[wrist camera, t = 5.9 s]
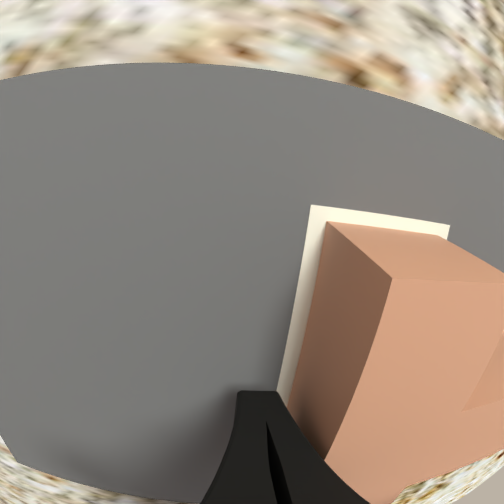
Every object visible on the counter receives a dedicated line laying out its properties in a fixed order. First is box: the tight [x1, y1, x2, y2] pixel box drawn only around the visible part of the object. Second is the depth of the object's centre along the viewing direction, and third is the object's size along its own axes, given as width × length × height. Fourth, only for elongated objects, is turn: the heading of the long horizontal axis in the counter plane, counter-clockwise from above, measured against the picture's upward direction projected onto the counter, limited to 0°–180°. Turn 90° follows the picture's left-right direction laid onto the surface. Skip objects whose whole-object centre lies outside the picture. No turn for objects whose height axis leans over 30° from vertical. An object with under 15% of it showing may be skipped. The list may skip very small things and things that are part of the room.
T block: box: [287, 221, 504, 504], centre depth 10 cm, size 12×12×4 cm
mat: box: [0, 63, 504, 504], centre depth 11 cm, size 28×20×1 cm
